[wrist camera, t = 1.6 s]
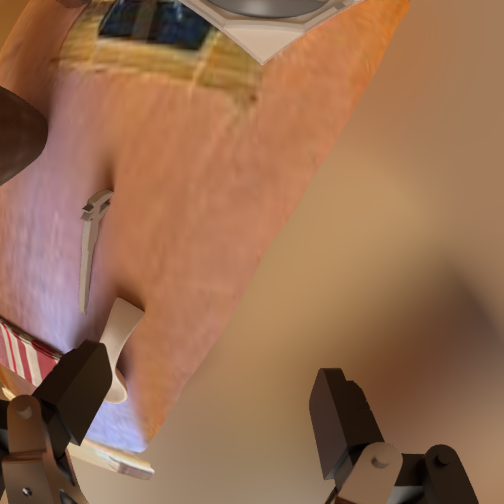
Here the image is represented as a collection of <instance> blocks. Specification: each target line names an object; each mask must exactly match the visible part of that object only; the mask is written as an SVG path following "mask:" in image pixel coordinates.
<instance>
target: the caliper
mask: <svg viewBox="0 0 504 504" xmlns="http://www.w3.org/2000/svg"><path fill="white" fill-rule="evenodd" d="M112 195H113V192H112V191H110V190H107V189H106V190H103V191H100V192H98V193H96V194H95V195H94V196H92V197H91V198H90V199H89V200H88V203H87V205H86V206H85V207H84V208H82V210H83V211H85V212H84V214H83V215H82V217H81V219H82V220H84V227H83V235H82V244H81V249H82V259H81V271H80V287H79V310H80V312H81V313H83V314H85V315H86V311H87V306H88V297H89V284H90V273H91V264H92V256H93V248H94V244H95V243H96V242H97V235H98V231H99V228H98V223H99V221H100V219H101V218H102V217H103V215H104V214H105V213H106V211H107V210H108V209H109V207H110V204H108V203H106V202H105V201H107V200H108V199H109V198H110V197H111V196H112Z"/></svg>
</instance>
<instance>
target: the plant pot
mask: <svg viewBox="0 0 504 504" xmlns="http://www.w3.org/2000/svg"><path fill="white" fill-rule="evenodd" d="M46 140H47V124H46V121H45V119H44V117H43V116H42V115H41V114H40V113H39V112H38V111H37V110H36V109H35V108H34V107H33V106H31V105H30V104H29V103H28V102H26V101H25V100H23V99H22V98H21V97H19V96H17V95H16V94H14V93H12V92H11V91H9V90H7V89H5V88H3V87H1V86H0V186H1V185H3V184H4V183H6V182H7V181H8V180H10V179H11V178H13V177H14V176H15V175H17V174H18V173H19V172H21V171H22V170H23V169H25V168H26V167H27V166H28V165H29V164H31V163H32V162H33V161H34V160H35V159H37V158H38V157H39V155H40V154H41V153H42V151H43V149H44V147H45V144H46Z"/></svg>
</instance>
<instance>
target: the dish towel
mask: <svg viewBox="0 0 504 504" xmlns="http://www.w3.org/2000/svg"><path fill="white" fill-rule="evenodd" d="M62 357H63V356H62V355H60V354H59V353H58V352H56V351H55V350H53V349H52V348H50V347H48V346H47V345H45V344H43V343H41V342H39V341H37V340H35V339H33V338H31V337H29V336H28V335H26V334H24V333H23V332H21V331H20V330H18V329H17V328H15V327H14V326H12V325H10V324H9V323H7V322H5V321H4V320H3V319H1V318H0V364H2V365H3V366H5V367H7V368H9V369H10V370H12V371H14V372H15V373H17V374H18V375H20V376H22V377H23V378H25V379H26V380H27V381H29V382H30V383H32V384H34V385H35V386H37V387H38V386H39V385H40V384H41V382H42V381H43V380H44V379H45V377H46V376H47V375H48V374H49V372H50V371H52V369H53V367H54V366H55V365H57V363H58V361H59V360H60V359H61V358H62Z"/></svg>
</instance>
